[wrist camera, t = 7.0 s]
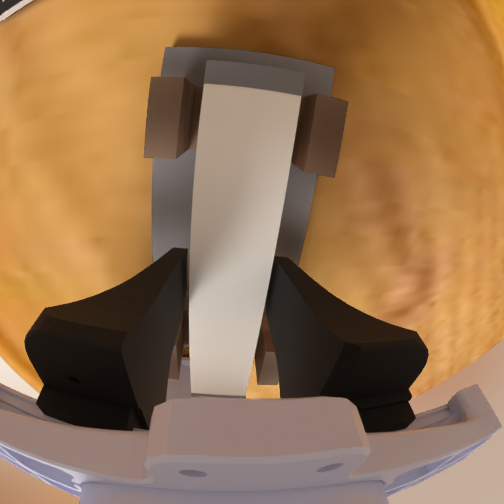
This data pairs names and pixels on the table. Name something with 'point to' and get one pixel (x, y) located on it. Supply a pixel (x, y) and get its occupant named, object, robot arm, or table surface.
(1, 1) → the gaming console
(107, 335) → the robot arm
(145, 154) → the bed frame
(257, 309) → the rail
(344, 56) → the table surface
